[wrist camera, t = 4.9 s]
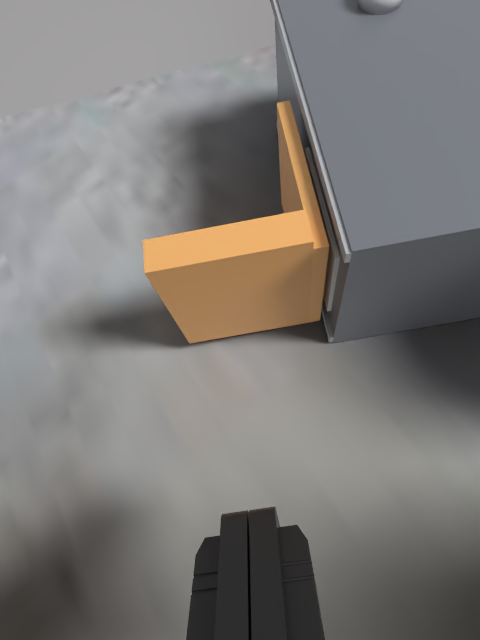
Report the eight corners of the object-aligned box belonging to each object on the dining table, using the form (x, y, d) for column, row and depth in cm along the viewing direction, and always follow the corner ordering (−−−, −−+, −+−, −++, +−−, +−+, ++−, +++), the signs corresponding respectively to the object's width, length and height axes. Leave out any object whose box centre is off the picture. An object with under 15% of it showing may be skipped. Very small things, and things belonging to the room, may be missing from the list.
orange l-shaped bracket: (320, 320, 23) (330, 238, 16) (189, 343, 23) (144, 273, 16) (291, 200, 26) (289, 90, 19) (177, 222, 26) (136, 121, 20)
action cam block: (503, 313, 23) (636, 185, 14) (328, 343, 23) (348, 239, 14) (405, 91, 30) (451, -88, 21) (273, 117, 30) (264, -47, 21)
